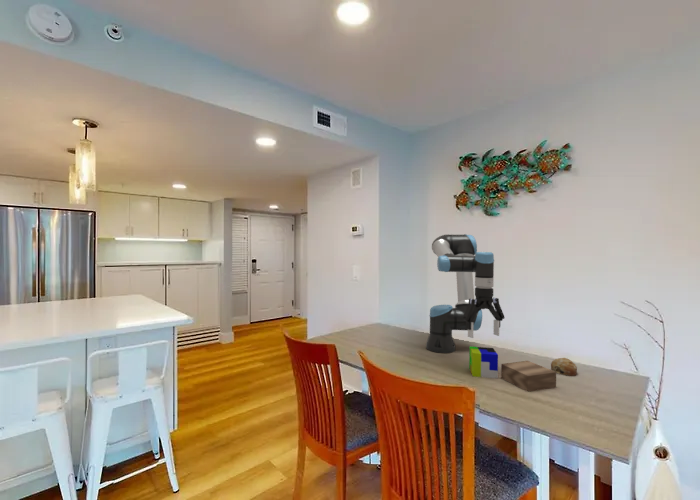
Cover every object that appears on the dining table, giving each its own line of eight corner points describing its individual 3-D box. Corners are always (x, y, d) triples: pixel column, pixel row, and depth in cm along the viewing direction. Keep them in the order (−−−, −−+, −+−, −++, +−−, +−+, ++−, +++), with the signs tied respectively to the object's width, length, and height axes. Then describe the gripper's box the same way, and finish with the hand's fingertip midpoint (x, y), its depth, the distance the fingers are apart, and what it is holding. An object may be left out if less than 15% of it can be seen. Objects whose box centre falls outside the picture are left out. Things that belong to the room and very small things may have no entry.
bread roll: (549, 378, 153) (547, 364, 150) (554, 364, 159) (552, 350, 157) (575, 385, 146) (574, 370, 143) (579, 369, 153) (578, 355, 150)
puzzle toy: (497, 378, 143) (498, 354, 143) (472, 376, 145) (472, 353, 145) (492, 370, 153) (492, 347, 153) (469, 368, 155) (469, 346, 155)
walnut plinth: (501, 378, 143) (501, 363, 143) (527, 374, 148) (527, 360, 148) (528, 391, 130) (528, 375, 130) (556, 387, 134) (556, 372, 134)
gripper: (465, 289, 141) (464, 340, 141) (513, 287, 149) (513, 336, 149) (454, 287, 148) (453, 335, 148) (501, 285, 156) (500, 332, 156)
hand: (483, 336), depth 148 cm, fingers open, 13 cm apart
